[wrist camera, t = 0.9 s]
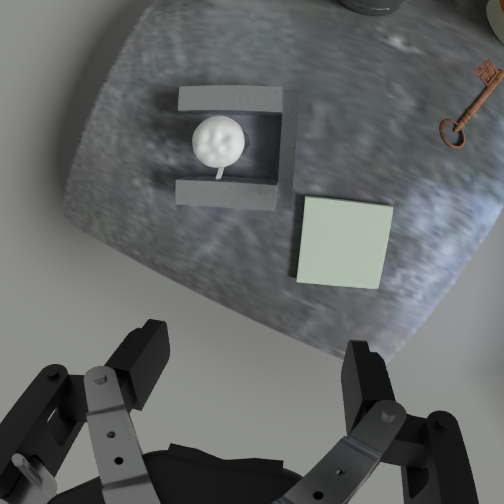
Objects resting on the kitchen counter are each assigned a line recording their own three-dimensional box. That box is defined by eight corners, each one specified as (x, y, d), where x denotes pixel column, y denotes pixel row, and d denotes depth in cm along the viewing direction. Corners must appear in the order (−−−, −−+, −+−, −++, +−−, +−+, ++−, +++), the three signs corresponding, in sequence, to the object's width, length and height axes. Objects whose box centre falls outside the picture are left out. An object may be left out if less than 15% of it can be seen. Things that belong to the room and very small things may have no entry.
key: (481, 50, 25) (422, 118, 30) (484, 48, 24) (425, 117, 29) (510, 84, 25) (454, 154, 30) (513, 83, 24) (457, 154, 29)
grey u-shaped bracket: (194, 93, 32) (179, 86, 27) (298, 96, 31) (299, 88, 26) (190, 195, 36) (175, 204, 31) (291, 203, 35) (290, 212, 30)
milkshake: (219, 171, 34) (191, 183, 25) (212, 125, 33) (181, 119, 23) (259, 166, 34) (245, 175, 24) (252, 119, 32) (236, 109, 23)
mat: (305, 195, 34) (305, 196, 33) (390, 205, 33) (393, 207, 32) (296, 278, 38) (296, 282, 37) (376, 285, 37) (378, 289, 36)
